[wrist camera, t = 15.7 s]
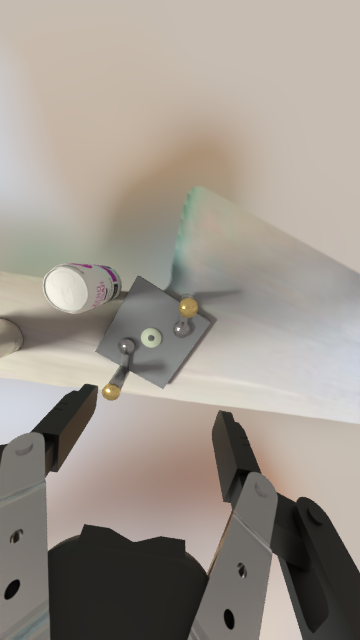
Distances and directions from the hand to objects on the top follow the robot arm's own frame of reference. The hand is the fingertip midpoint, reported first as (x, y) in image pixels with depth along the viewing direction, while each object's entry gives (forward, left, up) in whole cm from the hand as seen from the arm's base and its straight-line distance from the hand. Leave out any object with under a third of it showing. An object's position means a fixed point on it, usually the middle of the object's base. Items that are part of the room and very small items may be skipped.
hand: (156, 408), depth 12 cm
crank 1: (-4, -17, -31) cm, 36 cm away
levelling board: (-1, -9, -33) cm, 34 cm away
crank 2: (+3, 0, -31) cm, 31 cm away
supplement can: (-17, -4, -33) cm, 38 cm away
